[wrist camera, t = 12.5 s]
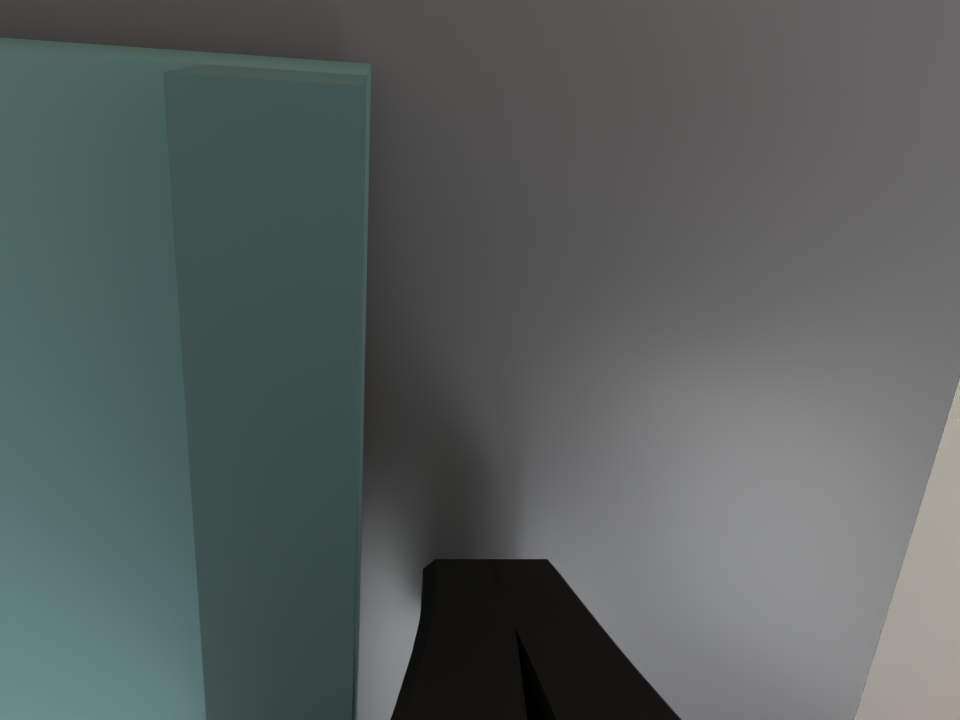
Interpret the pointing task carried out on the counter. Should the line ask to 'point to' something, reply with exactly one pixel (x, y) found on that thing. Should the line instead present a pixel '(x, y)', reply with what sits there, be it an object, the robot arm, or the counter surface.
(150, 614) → the keeper plate
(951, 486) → the counter surface
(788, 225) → the housing
